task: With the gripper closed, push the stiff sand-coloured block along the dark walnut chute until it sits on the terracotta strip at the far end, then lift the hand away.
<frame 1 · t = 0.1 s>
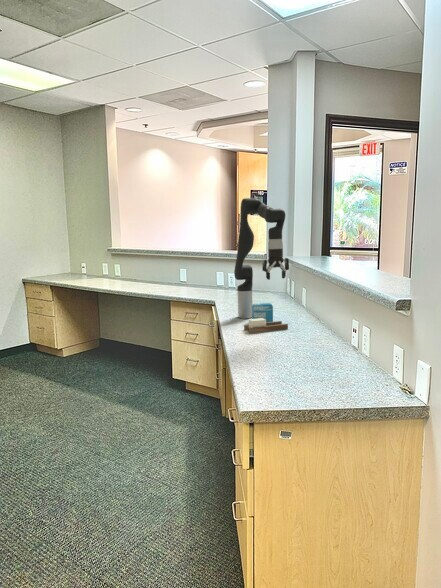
hand: (275, 278, 222), 29 cm above the worktop, tool pointing down, fingers open, 8 cm apart
walnut chute: (266, 331, 230), on the worktop
blue labeled box: (262, 324, 249), on the worktop
sand block: (257, 325, 228), point 4 cm above the worktop, slide at 0.0 cm
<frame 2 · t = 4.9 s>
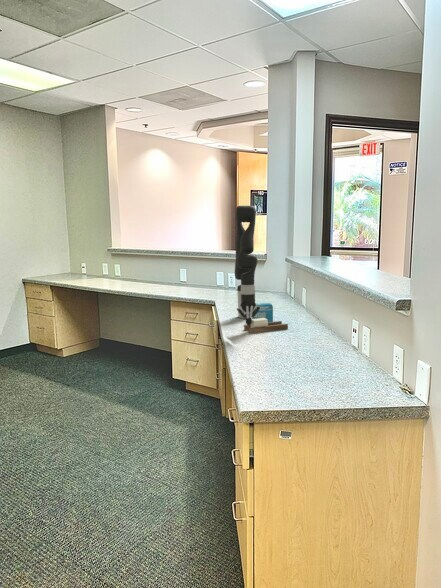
hand: (248, 324, 226), 5 cm above the worktop, tool pointing down, fingers closed
sand block: (259, 324, 228), point 4 cm above the worktop, slide at 1.1 cm, touching gripper
everything else where it was.
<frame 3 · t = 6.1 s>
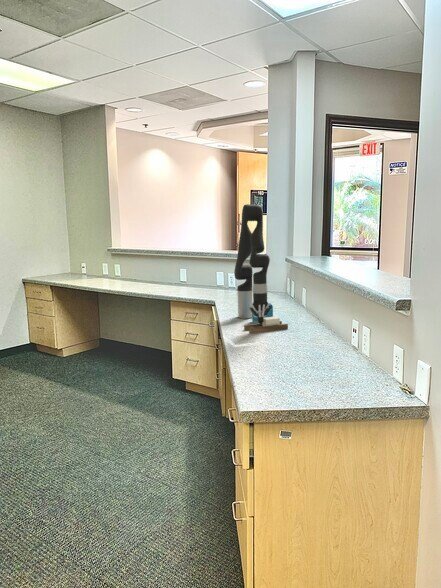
hand: (260, 323, 228), 5 cm above the worktop, tool pointing down, fingers closed
sand block: (270, 323, 230), point 4 cm above the worktop, slide at 8.0 cm, touching gripper
everything else where it was.
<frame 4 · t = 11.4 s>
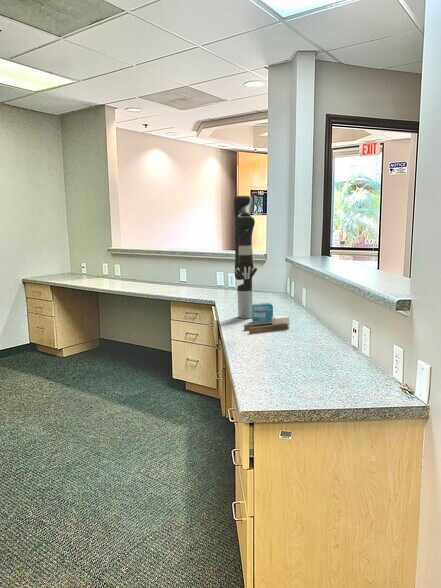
hand: (246, 285, 230), 25 cm above the worktop, tool pointing down, fingers closed
sand block: (280, 322, 232), point 4 cm above the worktop, slide at 13.9 cm
everything else where it was.
at the end: sand block slide at 13.9 cm; the gripper is holding nothing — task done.
